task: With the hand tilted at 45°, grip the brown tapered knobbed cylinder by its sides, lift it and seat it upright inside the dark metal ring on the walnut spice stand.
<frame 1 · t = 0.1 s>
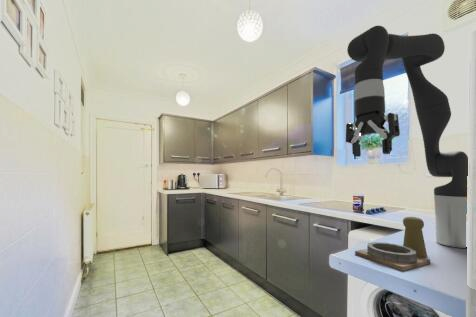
hand: (370, 155, 64), 29 cm above the counter, tool pointing down, fingers open, 8 cm apart
brown tapered knobbed cylinder: (414, 254, 70), on the counter
spice stand: (391, 258, 65), on the counter
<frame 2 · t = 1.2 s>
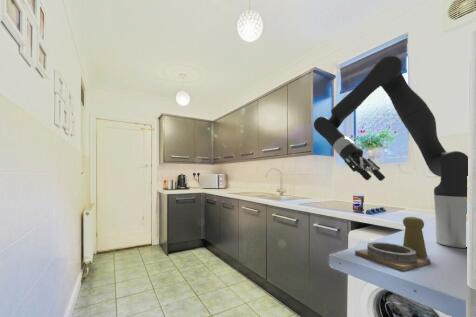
hand: (376, 179, 82), 23 cm above the counter, tool tilted 45°, fingers open, 8 cm apart
nothing on the counter moved.
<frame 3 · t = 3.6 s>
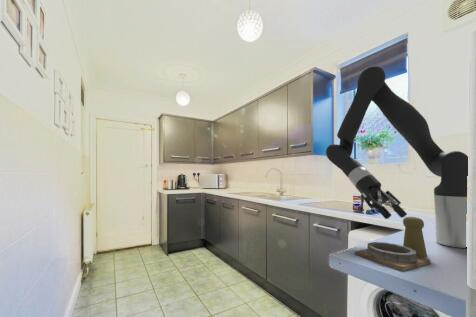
hand: (396, 216, 75), 10 cm above the counter, tool tilted 45°, fingers open, 8 cm apart
nothing on the counter moved.
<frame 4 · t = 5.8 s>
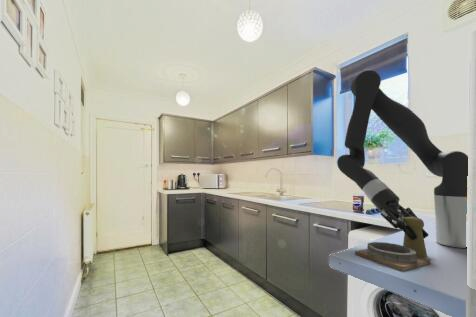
hand: (420, 237, 69), 5 cm above the counter, tool tilted 45°, fingers closed on brown tapered knobbed cylinder, 5 cm apart
brown tapered knobbed cylinder: (414, 254, 70), on the counter, touching gripper
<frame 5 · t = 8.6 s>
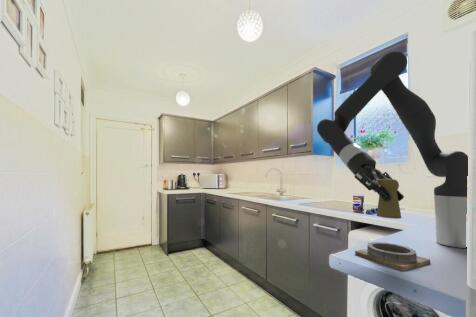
hand: (395, 199, 65), 17 cm above the counter, tool tilted 45°, fingers closed on brown tapered knobbed cylinder, 5 cm apart
brown tapered knobbed cylinder: (388, 217, 66), point 12 cm above the counter, touching gripper
when the fingers open (7 cm above the counter, at t = 11.3 s): brown tapered knobbed cylinder stays where it is, resting on spice stand.
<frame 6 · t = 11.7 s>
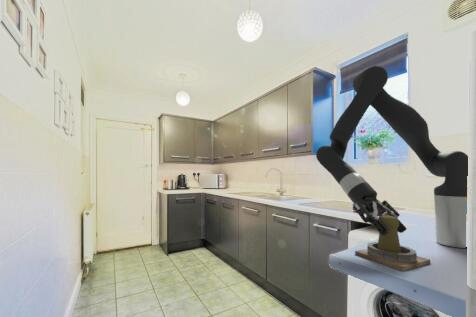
hand: (395, 232, 64), 8 cm above the counter, tool tilted 45°, fingers open, 8 cm apart
brown tapered knobbed cylinder: (389, 255, 65), point 1 cm above the counter, touching spice stand
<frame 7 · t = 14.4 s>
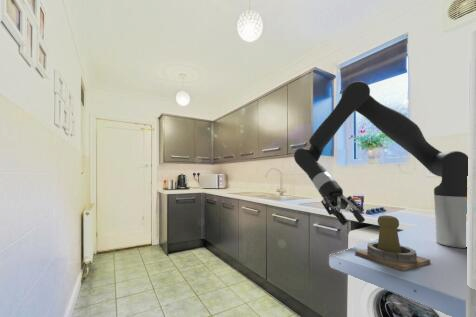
hand: (354, 222, 76), 8 cm above the counter, tool tilted 45°, fingers open, 8 cm apart
nothing on the counter moved.
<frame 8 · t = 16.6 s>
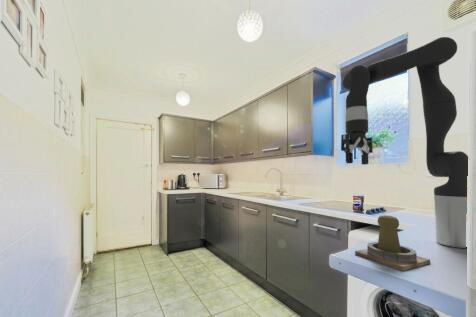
hand: (357, 163, 83), 28 cm above the counter, tool pointing down, fingers open, 8 cm apart
nothing on the counter moved.
at the end: brown tapered knobbed cylinder 0.5 cm off-centre on the spice stand, point 0.8 cm above the spice stand's base; brown tapered knobbed cylinder tilted 0°; the gripper is holding nothing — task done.
